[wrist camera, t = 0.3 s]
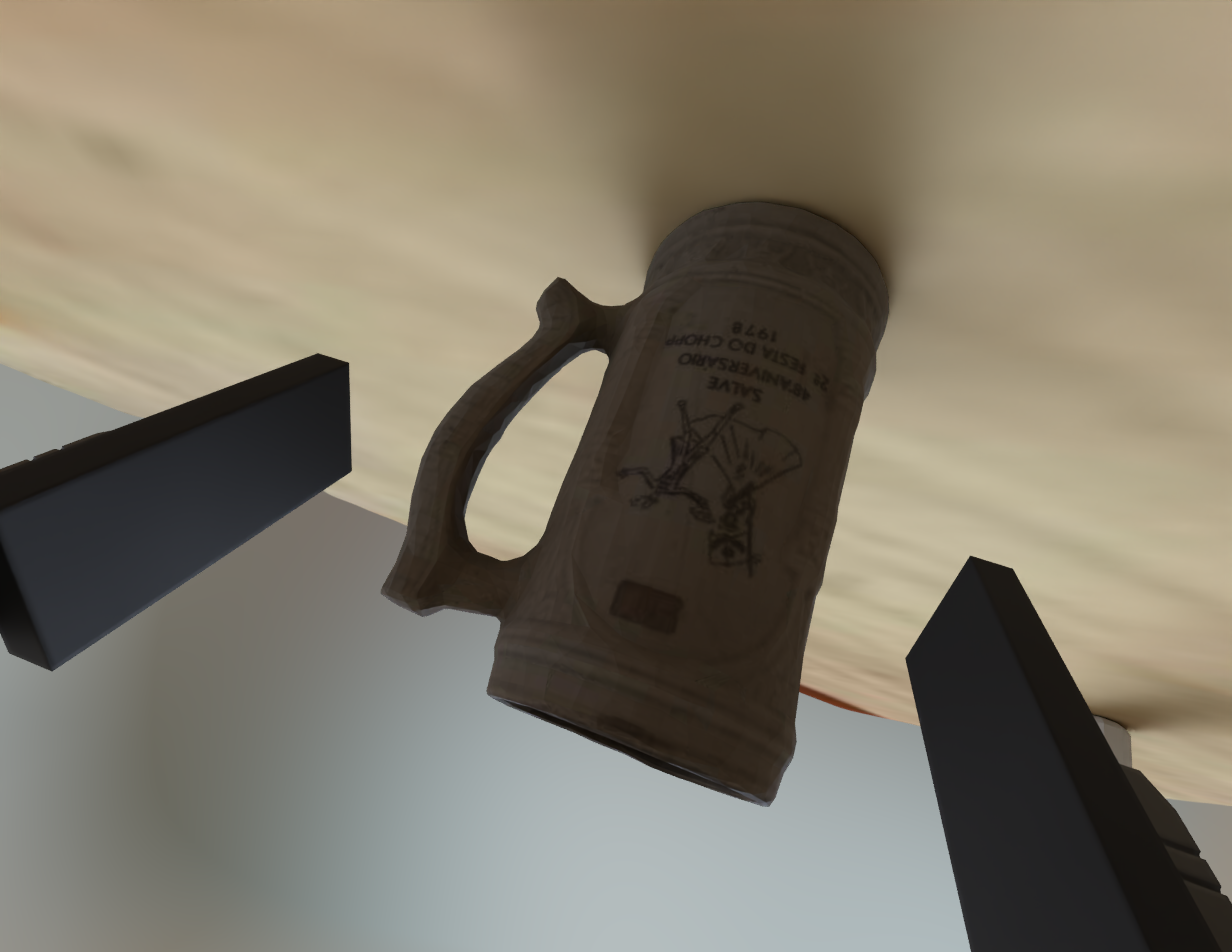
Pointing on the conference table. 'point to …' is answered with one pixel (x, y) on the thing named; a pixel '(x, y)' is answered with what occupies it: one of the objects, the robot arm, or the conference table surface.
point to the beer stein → (671, 497)
